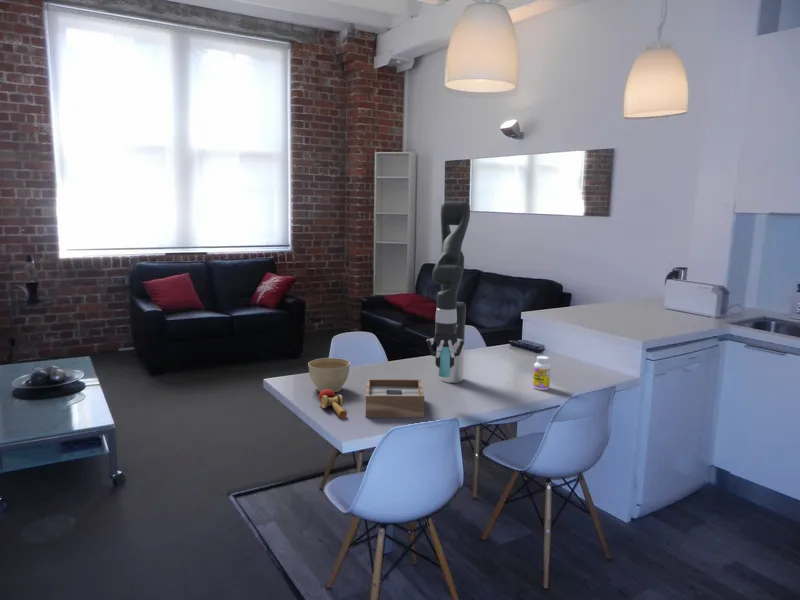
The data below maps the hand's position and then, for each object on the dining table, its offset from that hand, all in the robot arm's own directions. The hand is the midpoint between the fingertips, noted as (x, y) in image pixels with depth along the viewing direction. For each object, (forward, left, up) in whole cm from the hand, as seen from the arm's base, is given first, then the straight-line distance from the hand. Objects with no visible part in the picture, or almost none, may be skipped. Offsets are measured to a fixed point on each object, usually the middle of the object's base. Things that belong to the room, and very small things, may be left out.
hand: (444, 366), depth 216 cm
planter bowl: (-18, -43, -15) cm, 49 cm away
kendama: (+5, -39, -15) cm, 43 cm away
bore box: (+2, -18, -15) cm, 23 cm away
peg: (0, 0, -3) cm, 3 cm away
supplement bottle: (-23, +42, -15) cm, 50 cm away
